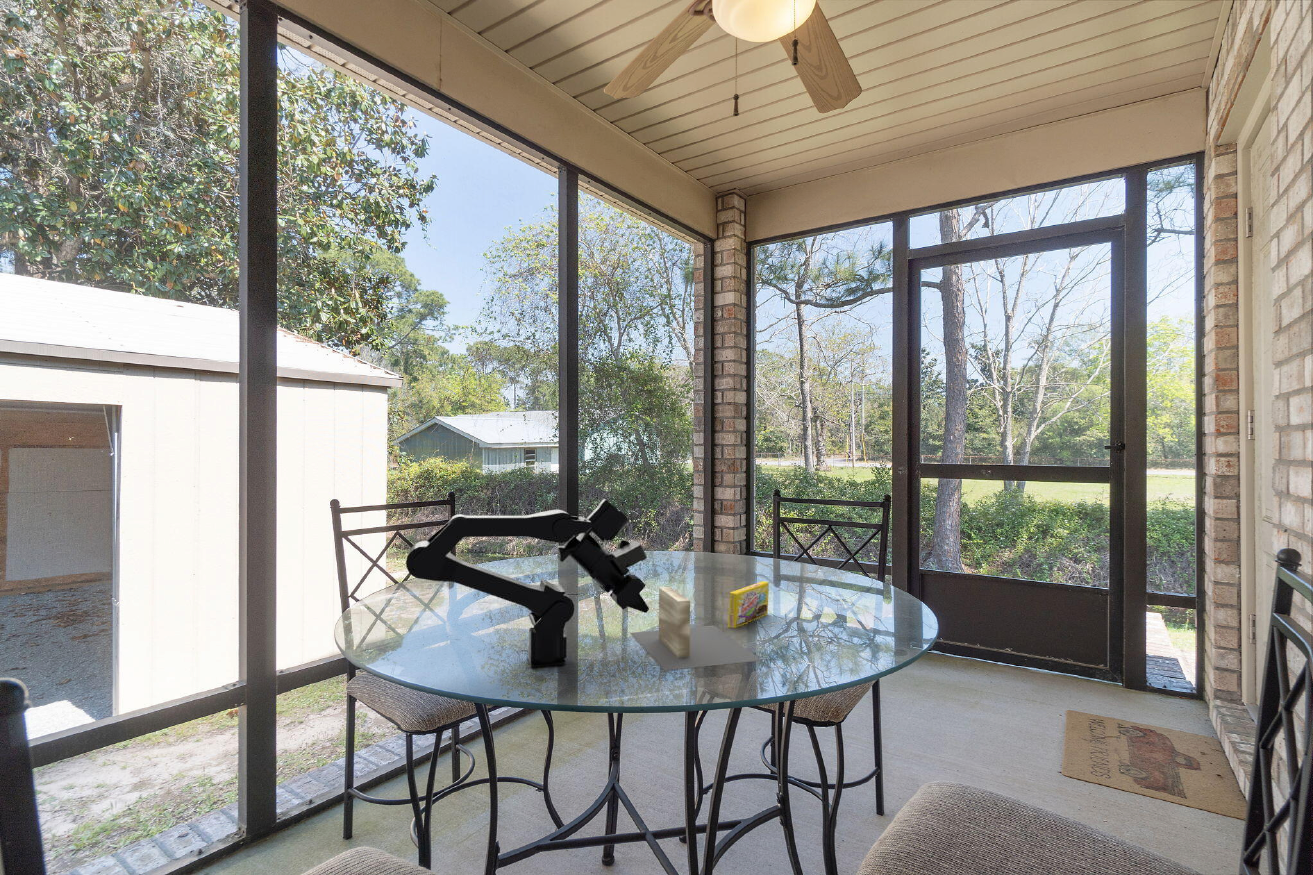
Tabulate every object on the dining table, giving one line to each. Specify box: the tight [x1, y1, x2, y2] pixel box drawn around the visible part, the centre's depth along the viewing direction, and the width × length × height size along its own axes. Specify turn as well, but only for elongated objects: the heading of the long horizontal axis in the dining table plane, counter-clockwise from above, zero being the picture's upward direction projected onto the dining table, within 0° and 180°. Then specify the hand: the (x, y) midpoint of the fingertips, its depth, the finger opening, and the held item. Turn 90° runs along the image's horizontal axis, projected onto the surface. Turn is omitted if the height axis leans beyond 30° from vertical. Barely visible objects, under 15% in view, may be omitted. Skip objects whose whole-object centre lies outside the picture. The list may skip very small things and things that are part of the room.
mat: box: [629, 625, 762, 672], centre depth 132 cm, size 20×24×1 cm
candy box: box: [727, 580, 770, 629], centre depth 152 cm, size 16×2×8 cm, turn 143°
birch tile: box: [658, 586, 691, 658], centre depth 131 cm, size 2×12×11 cm, turn 18°
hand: (647, 610), depth 129 cm, fingers closed
